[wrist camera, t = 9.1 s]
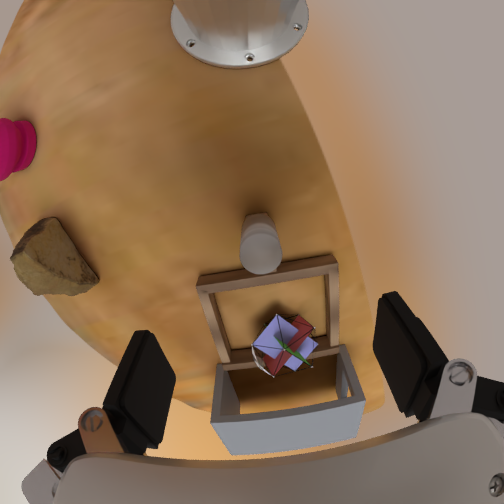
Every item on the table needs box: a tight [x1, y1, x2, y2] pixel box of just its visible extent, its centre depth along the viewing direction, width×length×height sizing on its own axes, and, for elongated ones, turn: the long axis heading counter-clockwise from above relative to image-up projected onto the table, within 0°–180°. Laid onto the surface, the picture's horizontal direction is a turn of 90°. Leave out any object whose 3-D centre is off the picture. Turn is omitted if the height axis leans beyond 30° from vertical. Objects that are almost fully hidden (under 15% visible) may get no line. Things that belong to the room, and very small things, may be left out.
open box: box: [210, 344, 366, 455], centre depth 31 cm, size 10×17×10 cm, turn 100°
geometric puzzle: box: [251, 314, 318, 377], centre depth 28 cm, size 7×7×8 cm
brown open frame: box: [196, 212, 339, 371], centre depth 26 cm, size 18×14×7 cm
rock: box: [10, 218, 99, 296], centre depth 25 cm, size 11×9×10 cm
